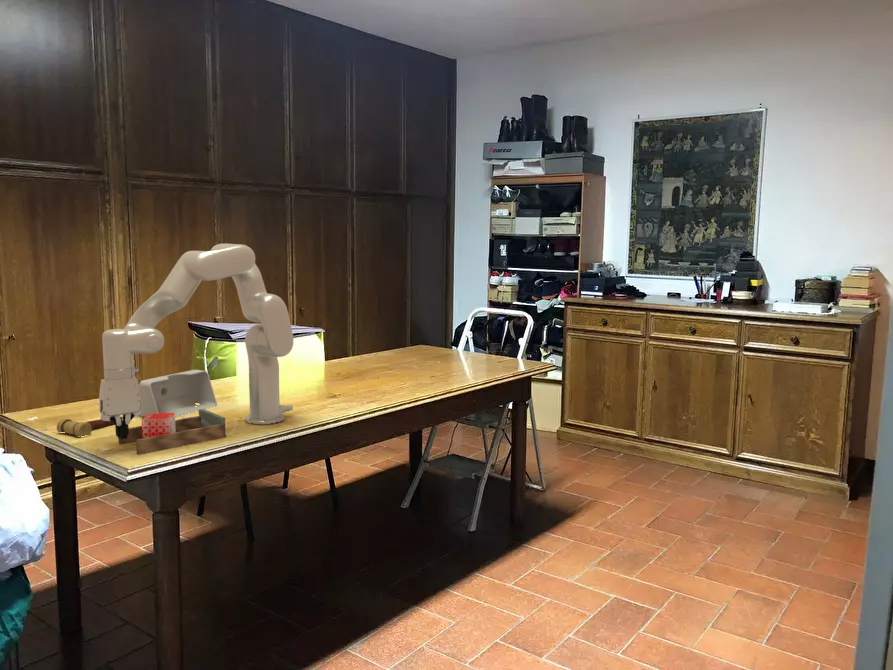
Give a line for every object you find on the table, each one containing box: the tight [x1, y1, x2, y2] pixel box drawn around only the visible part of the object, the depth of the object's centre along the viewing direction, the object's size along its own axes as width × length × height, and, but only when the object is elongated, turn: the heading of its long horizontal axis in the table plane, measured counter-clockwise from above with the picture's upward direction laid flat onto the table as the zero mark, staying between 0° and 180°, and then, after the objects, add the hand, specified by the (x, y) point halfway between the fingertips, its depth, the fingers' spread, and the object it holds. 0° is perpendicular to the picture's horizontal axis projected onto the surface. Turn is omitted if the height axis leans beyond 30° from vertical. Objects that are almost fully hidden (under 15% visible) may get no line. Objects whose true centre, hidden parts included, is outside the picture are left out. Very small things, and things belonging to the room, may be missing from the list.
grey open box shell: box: [138, 369, 218, 418], centre depth 246 cm, size 25×16×12 cm, turn 152°
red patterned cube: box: [141, 413, 176, 438], centre depth 209 cm, size 8×8×8 cm
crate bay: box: [117, 409, 227, 455], centre depth 212 cm, size 26×14×6 cm, turn 135°
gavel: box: [56, 416, 122, 438], centre depth 224 cm, size 21×5×10 cm
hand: (122, 437), depth 202 cm, fingers closed
